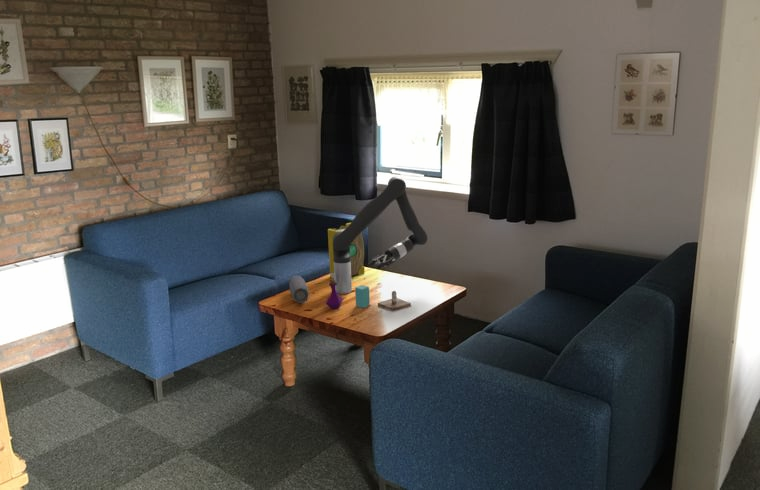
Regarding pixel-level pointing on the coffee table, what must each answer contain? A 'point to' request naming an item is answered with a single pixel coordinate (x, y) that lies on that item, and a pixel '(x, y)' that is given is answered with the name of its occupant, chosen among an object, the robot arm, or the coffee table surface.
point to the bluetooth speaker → (298, 289)
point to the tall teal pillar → (362, 296)
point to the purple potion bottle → (333, 295)
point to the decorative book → (355, 252)
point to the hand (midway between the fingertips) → (372, 266)
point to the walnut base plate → (394, 303)
